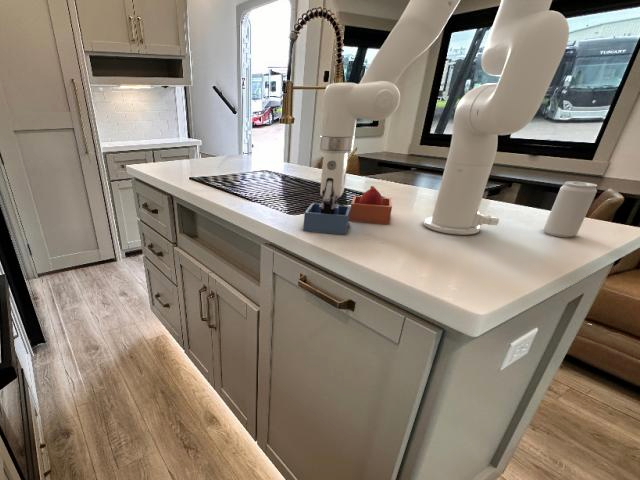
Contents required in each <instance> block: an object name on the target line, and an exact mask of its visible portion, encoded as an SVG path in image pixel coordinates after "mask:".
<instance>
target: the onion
mask: <svg viewBox="0 0 640 480" xmlns="http://www.w3.org/2000/svg"><path fill="white" fill-rule="evenodd" d="M361 196H362V197H361V199H360V204H367V205H380V206H382V198H383V197H382V193H380V191H379V190H378V189H377V188H376V187H375V186H374V185H370V188H369V189H368V190H366V191H364V193H363V194H362V195H361Z"/></svg>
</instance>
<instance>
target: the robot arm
mask: <svg viewBox="0 0 640 480" xmlns="http://www.w3.org/2000/svg"><path fill="white" fill-rule="evenodd" d="M460 2H461V0H409V2H408V4H407V6H406V7H405V9H404V11H403V12H402V14H401V15H400V18H399V19H398V21H397V22H396V24H395V25H394V27H393V28H392V30H391V31H390V33H389V34H388V36H387V38H386V39H385V40H384V42H383V44H382V45H381V47H380V48H379V49H378V51H377V52H376V54H375V55H374V57H373V59H372V60H371V62H370V64H369V65H368V67H367V69H366V70H365V72H364V74H363V76H362V77H361V79H360V82H358V83H355V82H333V83H330V84H328V85H327V86H326V87H325V90H324V96H323V107H322V117H321V129H320V131H321V132H320V139H319V140H320V141H319V149H318V151H319V152H320V153H323V156H322V157H323V158H322V167H321V178H320V190H319V192H320V193H319V195H320V196H321V197H322V202H321V203H322V208H321V213H324V214H334V212H335V209H334V204H338V199H339V198H341V197H342V196H343V194H344V191H345V186H346V185H345V184H346V175H347V167H348V154H350V153H353V149H354V141H355V133H356V128H357V127H356V126H357V119H359V120H360V119H361V120H365V121H366V120H368V121H374V122H377V121H379V122H380V121H384V120H385V119H388V118H389V117H391V116H393V114H394V113H395V112H396V111H397V110H398V107H399V105H400V102H401V94H400V93H401V92H400V90H399V88H398V87H397V86H396V85H395V84H396V83H397V81H399V79H400V77H401V76H402V74H403V73H404V72H405V71H406V70H407V68H408V67H409V66H410V65H411V64H412V63H413V62H414V61H415V60H416V59H417V58H419V57H420V56H421V55H423V54H424V52H426V51H427V50H428V49H429V48H430V47H431V46H432V45H433V44H434V43H435V41H436V40H437V39H438V38H439V36H440V35H441V33H442V31H443V30H444V28H445V26H446V25H447V23H448V21H449V19H450V18H451V17H452V14H453V13H454V12H455V10H456V8H457V7H458V5H459V3H460ZM552 2H553V0H500V4H499V7H498V10H497V12H496V15H495V18H494V21H493V24H492V26H491V29H490V32H489V34H488V37H487V39H486V42H485V45H484V48H483V51H482V54H481V58H480V65H481V68H482V71H483V72H484V73H485V74H487V75H488V76H492V77H499V79H498V80H497V81H498V82H493V83H492V82H491V83H484V84H480V85H478V86H475V87H473V88H472V89H469V91H467V92H466V93H465V94H464V95H463V96H462V97H461V98H460V100H459V102H458V104H457V105H456V108H455V111H454V116H453V123H452V134H451V140H450V146H449V149H448V154H447V158H446V162H445V166H444V170H443V174H442V178H441V180H440V185H439V189H438V193H437V196H436V200H435V204H434V208H433V212H432V216H430V217H427V218H425V219H424V221H423V225H424V226H425V227H426V228H427V229H429V230H432V231H434V232H438V233H443V234H449V235H460V236H461V235H463V236H465V235H466V236H467V235H469V236H470V235H474V234H475V235H476V234H477V233H479V232H480V230H481V226H482V225H489V226H497V225H498V224H499V221H500V217H499V216H491V215H488V214H482V213H480V211H479V209H480V206H481V203H482V200H483V197H484V193H485V190H486V187H487V184H488V180H489V178H490V174H491V171H492V168H493V165H494V162H495V159H496V155H497V150H498V142H499V141H498V140H499V139H498V138H499V137H498V136H507V135H512V134H515V133H517V132H519V131H521V130H522V129H524V128H525V127H526V126H528V125H529V123H530V122H531V121H532V120H533V118H534V117H535V115H537V112H538V111H539V109H540V107H541V105H542V104H543V101H544V99H545V97H546V94H547V93H548V90H549V88H550V86H551V84H552V81H553V80H554V77H555V75H556V72H557V71H558V68H559V67H560V64H561V61H562V59H563V57H564V55H565V52H566V51H567V47H568V43H569V37H570V27H569V23H568V22H569V21H568V20H567V18H566V17H565V16H564V15H563V13H561V12H559V11H555V10H550V8H551V5H552Z"/></svg>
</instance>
